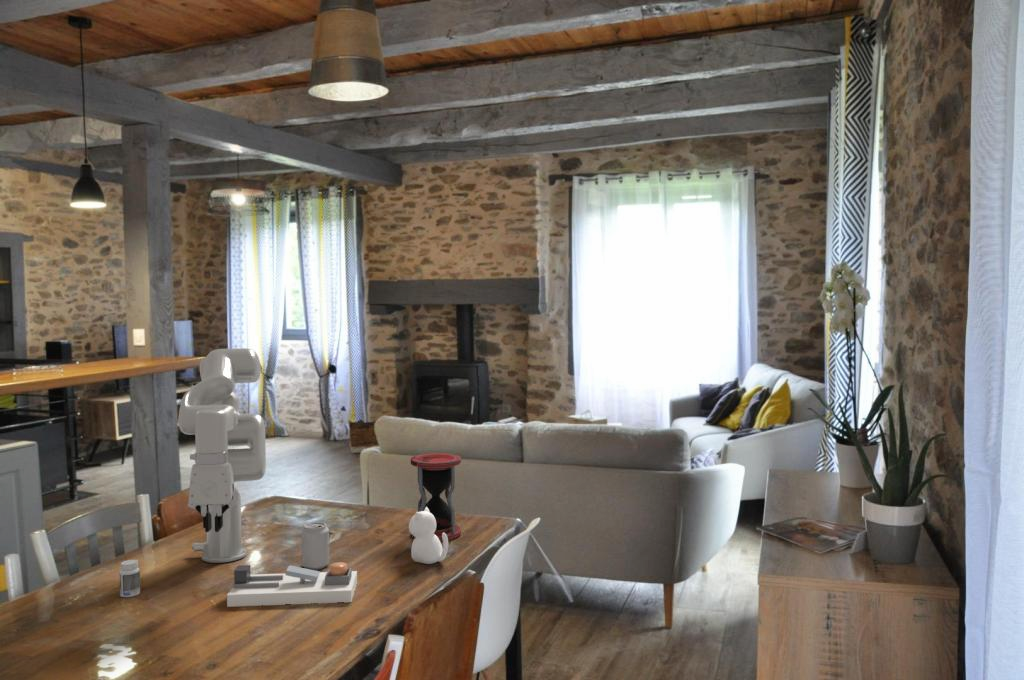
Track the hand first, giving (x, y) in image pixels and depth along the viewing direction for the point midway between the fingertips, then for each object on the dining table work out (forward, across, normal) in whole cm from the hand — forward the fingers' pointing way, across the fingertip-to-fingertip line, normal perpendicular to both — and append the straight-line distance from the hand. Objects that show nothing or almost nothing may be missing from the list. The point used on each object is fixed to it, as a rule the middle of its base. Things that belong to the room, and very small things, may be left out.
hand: (213, 530), depth 194 cm
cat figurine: (+17, +54, +22) cm, 61 cm away
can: (+17, +22, +21) cm, 35 cm away
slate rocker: (+12, +22, 0) cm, 25 cm away
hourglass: (+17, +56, +48) cm, 76 cm away
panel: (+17, +20, 0) cm, 26 cm away
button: (+12, +31, 0) cm, 33 cm away
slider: (+14, +7, 0) cm, 16 cm away
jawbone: (+18, +19, +46) cm, 53 cm away
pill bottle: (+17, -22, +4) cm, 28 cm away
